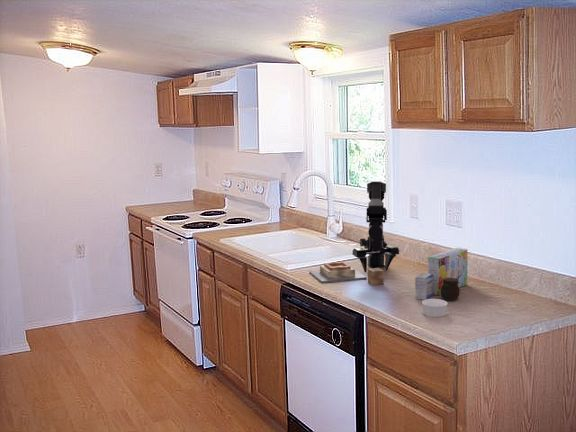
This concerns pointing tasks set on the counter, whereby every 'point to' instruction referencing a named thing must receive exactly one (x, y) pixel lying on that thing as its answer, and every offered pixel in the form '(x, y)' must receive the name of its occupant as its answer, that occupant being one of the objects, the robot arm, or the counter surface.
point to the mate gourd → (450, 289)
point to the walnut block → (376, 276)
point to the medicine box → (424, 286)
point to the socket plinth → (337, 270)
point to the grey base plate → (324, 279)
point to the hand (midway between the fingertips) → (375, 271)
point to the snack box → (448, 267)
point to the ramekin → (434, 307)
